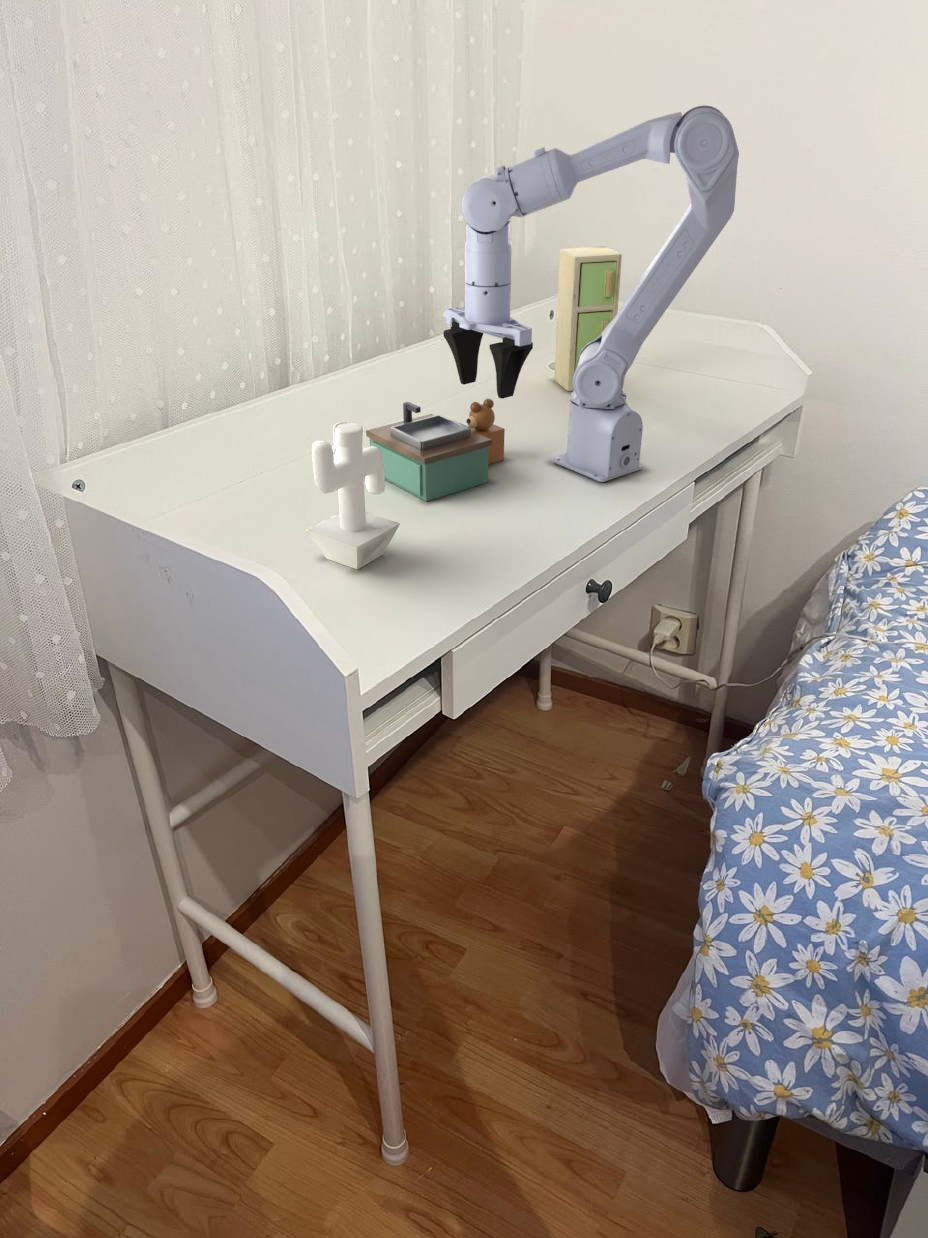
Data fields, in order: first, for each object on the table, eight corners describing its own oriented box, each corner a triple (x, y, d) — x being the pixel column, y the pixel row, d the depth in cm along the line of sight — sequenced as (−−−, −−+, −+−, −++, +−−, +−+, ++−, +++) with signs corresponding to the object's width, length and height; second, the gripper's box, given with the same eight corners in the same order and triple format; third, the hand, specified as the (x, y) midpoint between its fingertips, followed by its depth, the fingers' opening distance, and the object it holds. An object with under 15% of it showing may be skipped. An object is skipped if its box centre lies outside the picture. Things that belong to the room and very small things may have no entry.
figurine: (407, 549, 108) (404, 419, 100) (351, 582, 101) (343, 445, 94) (358, 533, 112) (351, 406, 104) (300, 563, 105) (288, 430, 97)
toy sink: (491, 482, 125) (492, 415, 120) (421, 504, 119) (419, 435, 114) (432, 454, 133) (431, 391, 129) (363, 473, 127) (360, 408, 123)
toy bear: (503, 459, 132) (505, 400, 127) (475, 468, 129) (475, 407, 125) (486, 452, 134) (487, 393, 130) (458, 460, 131) (458, 400, 127)
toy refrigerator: (568, 393, 157) (576, 256, 146) (552, 380, 163) (559, 247, 152) (614, 389, 159) (625, 254, 148) (596, 376, 165) (606, 245, 154)
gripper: (426, 276, 123) (428, 382, 130) (502, 296, 114) (499, 409, 121) (469, 269, 127) (469, 372, 134) (546, 288, 117) (541, 398, 124)
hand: (486, 389), depth 128 cm, fingers open, 7 cm apart
